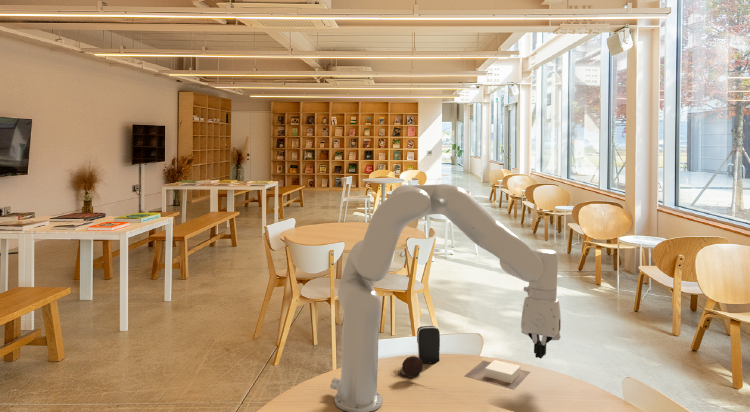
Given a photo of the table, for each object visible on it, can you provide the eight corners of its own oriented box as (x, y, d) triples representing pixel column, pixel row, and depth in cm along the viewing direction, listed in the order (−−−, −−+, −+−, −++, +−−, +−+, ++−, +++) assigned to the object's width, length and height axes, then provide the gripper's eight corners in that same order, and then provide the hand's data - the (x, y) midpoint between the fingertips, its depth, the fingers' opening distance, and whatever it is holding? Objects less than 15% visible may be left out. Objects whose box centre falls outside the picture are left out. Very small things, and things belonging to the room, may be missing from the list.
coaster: (484, 376, 159) (485, 368, 159) (494, 367, 166) (494, 359, 166) (511, 383, 155) (511, 374, 155) (520, 374, 162) (520, 366, 161)
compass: (417, 369, 167) (417, 346, 166) (422, 380, 159) (423, 356, 158) (391, 370, 165) (392, 347, 165) (395, 381, 158) (396, 357, 157)
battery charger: (437, 359, 175) (437, 324, 174) (440, 363, 171) (440, 327, 170) (416, 360, 174) (415, 325, 173) (418, 364, 170) (418, 328, 169)
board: (463, 381, 159) (463, 376, 159) (483, 365, 172) (483, 360, 172) (513, 394, 151) (514, 389, 151) (530, 376, 164) (530, 372, 163)
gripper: (511, 292, 153) (509, 355, 155) (566, 300, 145) (563, 366, 147) (520, 286, 160) (518, 347, 162) (573, 294, 152) (570, 358, 153)
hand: (539, 356), depth 154 cm, fingers closed
